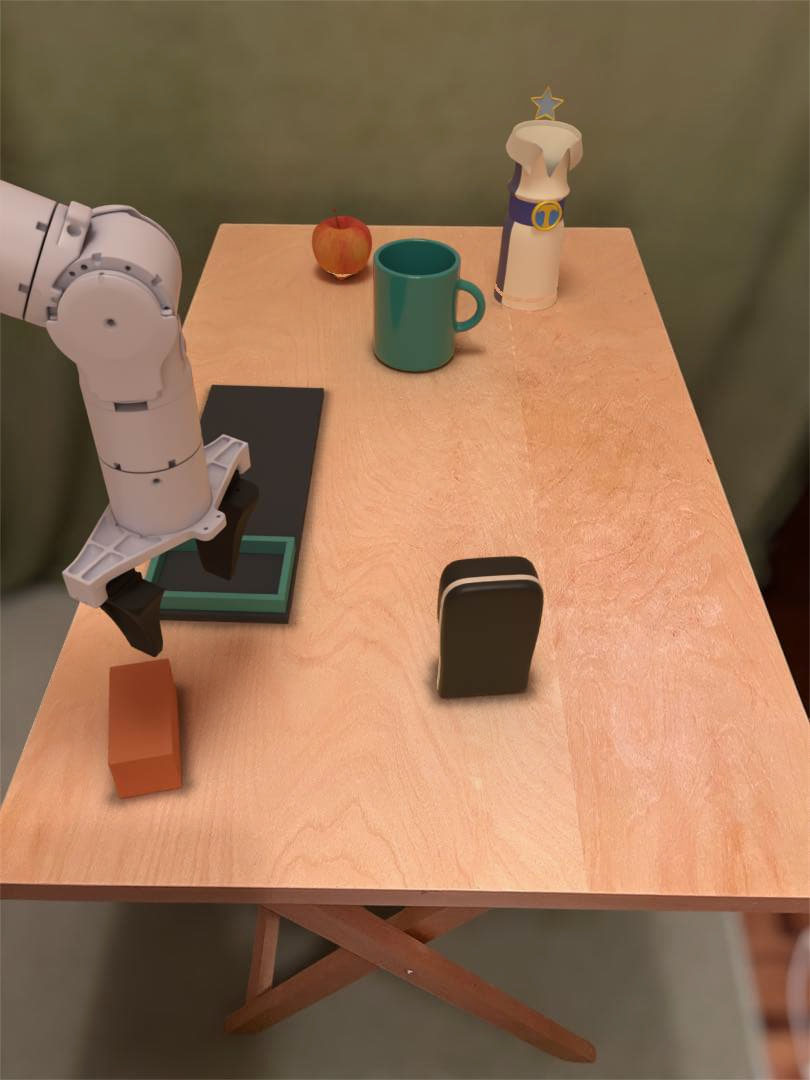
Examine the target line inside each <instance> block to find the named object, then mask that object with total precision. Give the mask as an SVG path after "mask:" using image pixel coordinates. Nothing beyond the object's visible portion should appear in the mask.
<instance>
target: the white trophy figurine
mask: <svg viewBox="0 0 810 1080" xmlns="http://www.w3.org/2000/svg"><path fill="white" fill-rule="evenodd" d="M530 100H531V102H532V103H534V105H536V107H537V111H536V112H535V113H536V114H535V117H534V119H533V120H532V119H531V120H525V121H522V122H520V123H517V124H516V125H515V126H514V127H513V129H512V132H511V134H510V135H509V137H508V139H507V142H506V143H505V151H506V154H508V156H509V157H510V158H511V160H513V161H515V167H514V171H513V174H512V177H511V178H510V179H509V181H508V182H507V189H508V191H509V202H508V211H507V214H506V216H505V218H504V220H503V224H502V225H503V226H502V230H501V231H502V233H501V238H500V239H501V240H500V249H499V255H498V257H499V258H498V264H497V272H496V278H495V283H496V284H497V287H498V288H499V289H500V291H502V292H504V293H506V294H507V295H511V296H514V297H518V298H527V299H531V298H534V299H537V298H543V297H546V296H548V295H551V294H552V293H554V292H555V291H556V289H557V287H558V288H559V277H560V269H561V260H562V252H563V244H564V237H565V221H564V212H565V205H566V197H567V196H568V195H569V194H570V192H571V187H570V185H569V183H568V177H567V176H568V175H567V174H568V171H569V172H571V171H572V170H573V169H574V168H575V167H576V166H578V164H580V162H581V160H582V158H583V155H584V149H583V140H582V139H583V138H582V137H583V135H582V133H581V131H579V130H578V128H576V127H575V126H574V125H572V124H569V123H566V122H562V121H558V120H556V116H555V109H556V108H557V107H559V106H560V105H561V104H562V103H563V102H564V101H565V100H564V99H561V98H556V97H554V96H553V95H552V91H551V88H550V85H548V86H547V88H546V89H545V91H544V92H543V93H542V95H541V96H533V97H530ZM544 117H546V118H548V119H542V118H544ZM549 119H550V120H549ZM568 167H569V169H568ZM493 296H494V299H495V301H497V303H499V304H501V305H502V306H504V307H506V308H509V309H511V310H516V311H520V312H521V311H522V312H538V311H542V310H543V311H544V310H547V309H549V308H551V307H553V306H554V305H555V304H556V302H557V299H558V293H557V294H556V296H555V297H553V298H552V299H550V300H548V301H545V302H541V303H520V302H515V301H512V300H509V299H506V298H504V297H503V296H501V295H500V294H499V293H498V292H497V291H496V289H495V288H494V289H493Z"/></svg>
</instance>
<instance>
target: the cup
mask: <svg viewBox="0 0 810 1080" xmlns="http://www.w3.org/2000/svg"><path fill="white" fill-rule="evenodd" d="M372 260H373V261H372V263H373V264H372V268H373V269H372V280H373V281H372V314H373V315H372V319H373V320H372V337H373V338H372V346H373V351H374V354H375V356H376V357H377V358H378V360H379V361H380V362H382V363H383V364H384V365H386V366H388V367H391V368H393V369H396V370H399V371H404V372H415V373H416V372H427V371H431V370H435V369H438V368H441V367H442V366H444V365H446V364H447V363H448V362H449V361H450V360H451V359H452V358H453V356H454V354H455V350H456V340H457V339H456V337H457V334H459V333H465V332H468V331H470V330H472V329H474V328H475V327H477V326H478V325H479V324H480V323H481V321H482V320H483V318H484V317H485V313H486V309H487V308H486V307H487V303H486V299H485V295H484V293H483V291H482V290H481V289H480V288H479V286H477V285H476V284H474V283H473V282H471V281H469V280H466V279H462V277H461V269H462V268H461V265H462V258H461V255H460V253H459V252H458V251H457V249H455V248H454V247H452V246H450V245H449V244H446V243H445V242H442V241H438V240H434V239H429V238H419V237H417V238H415V237H414V238H413V237H412V238H401V239H396V240H391V241H389V242H386V243H384V244H382V245H381V246H379V247H378V248H376V250H375V252H374V253H373V257H372ZM461 291H464V292H466V293H468V294H470V295H471V296H472V297H473V299H474V300H475V302H476V303H475V304H476V310H475V312H474V314H473V315H472V316H471V317H469V318H468V319H465V320H463V321H458V311H459V310H458V309H459V298H460V297H459V295H460V292H461Z"/></svg>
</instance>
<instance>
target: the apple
mask: <svg viewBox="0 0 810 1080" xmlns="http://www.w3.org/2000/svg"><path fill="white" fill-rule="evenodd" d="M332 210H333V212H334V215H335V217H331V218H328V219H325V220H323V221H321V222H320V223H318V224H317V225H316V226H315V227H314V229H313V232H312V236H311V247H312V252H313V255H314V258H315V260H316V262H317V263H318V265H319V266H320V268H321V267H322V268H323V269H325V270H326V271H329V272H331V273H335V274H342V275H343V274H353V273H356V272H358V271H360V270H361V271H363V269H364V268H365V267H366V265H367V263H368V261H369V259H370V257H371V253H372V249H373V238H372V233H371V230H370V228H369V227H368V225H367V224H365V223H364V222H363V221H361V220H360V219H358V218H355V217H353V216H348V215H339V216H337V208H336V207H333V208H332ZM322 268H321V269H322ZM323 269H322V270H323ZM326 271H325V272H326ZM361 271H360V272H361ZM358 273H359V272H358ZM356 274H357V273H356ZM332 276H333V277H335V278H337V279H338V280H339V281H344V280H346V278H349V277H350V276H346V277H337V276H334V275H332Z"/></svg>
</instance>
